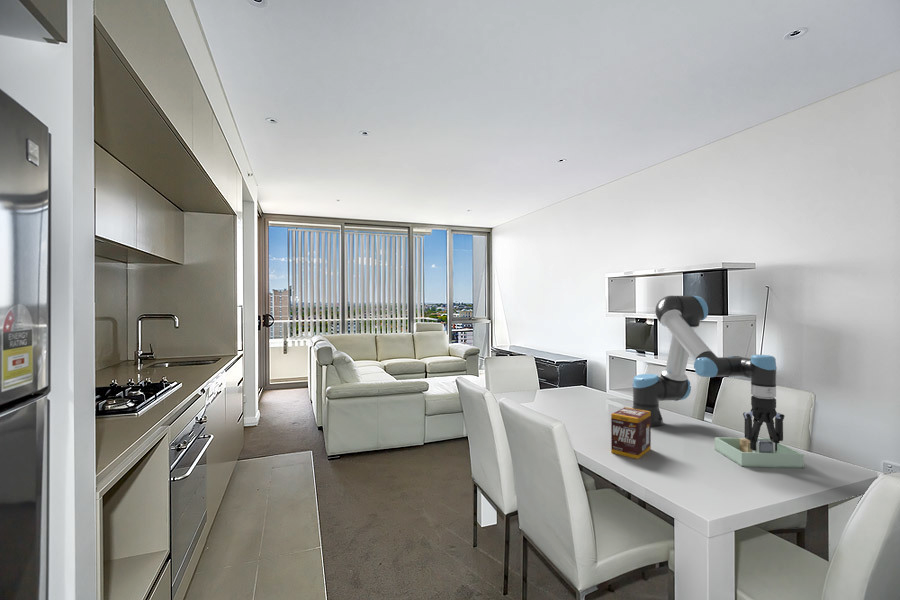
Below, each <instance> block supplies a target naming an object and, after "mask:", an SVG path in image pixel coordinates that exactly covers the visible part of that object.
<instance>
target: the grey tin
mask: <svg viewBox="0 0 900 600" xmlns="http://www.w3.org/2000/svg"><path fill="white" fill-rule="evenodd" d="M757 442H759V453H772V442H770V441H767V440H761V439H758V440H757Z"/></svg>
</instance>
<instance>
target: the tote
mask: <svg viewBox="0 0 900 600" xmlns="http://www.w3.org/2000/svg"><path fill="white" fill-rule="evenodd" d="M740 438H741V437H721V436H719V437H717V436H716V437H714V451H716V452H718V453H720V454H721V455H723V456H724V457H726V458H728V459H729V460H730V461H732V462H734V464H735V463H736V464H737V465H738V466H739V467H743V468H745V467H746V468H751V467H752V468H781V469H783V468H784V469H785V468H787V469H804V467H805V466H804V465H805V463H804V462H805V461H804V460H805V459H804V458H805V457H804V456H805V454H804V453H802V452H800V451H797V450H795V449H793V448H791V447H790V446H787V445H785V444H783V443H781V442H779V443H777V451H775V453H757V452H741V451H740ZM743 438H744V439H746V438H745V437H743ZM758 439H761V440H767V441H771V440H770V438H768V437H767V438H764V437H762V438H761V437H758ZM758 439H757V440H758Z"/></svg>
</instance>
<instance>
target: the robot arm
mask: <svg viewBox="0 0 900 600" xmlns="http://www.w3.org/2000/svg"><path fill="white" fill-rule="evenodd" d="M654 312H655V316H656V318H657V320H658V322H659V323H660V324H661V325H662V326H664V327H667V329H668V330H669V331H670V333H671V334H672V336H671V339H670V340H671V341H670V346H669V349H668V350H669V351H668V355H667V359H666V360H667V361H666V365H665V369H663V370H662V371H660V372H661V373H660V376H659V375H658V374H654V373H642V374H641V373H640V374H637V375H635V376H634V377H633V381H632V407H631V408H634V409H639V410H645V411H650V412H651V427H659V426H662V425H664V419H663V415H662V413H661V411H660V406H659V405H660V404H659V403H660V401H661V402H663V401H664V402H666V401H667V402H669V401H674V402H677V401H683V400H686V399H687V398H689V396H690V395H691V391H692V386H691V381H690V380H689V379H688V378H689V377H688V376H687V374H686V369H687V367H688V366H687V365H688V361H689V356H690V357H691V359H692V360H693V361H694V363H693V369H694V372H695V374H696V375H698V376H700V377H703V378H715V377H720V378H721V377H743V378H749V379H750V384H751V387H750V394H751V397H750V400H751V401H750V405H751V409H750V411H749V412H745V411H744V412H743V413H742V415H743V418H744V438H746V439H748V440H750V448H751V450H752V452H757V453H759V442H757V439H758V438H759V436H760V435H759V434H760V431H761V429H762V428H761V427H762V425H763V423H765V425H766V429H767V433H768V435H769V439H770V440H771V441H770V442H772V453H775V451H777V443H780V442H783V441H784V420H785V414H782V413H780V412H777V410H776V408H777V399H776V398H777V362H776V361H777V360H776V358H775V356H773V355H770V354H768V355H767V354H752V355H751V356H750V358H748V357H742V356H739V355H730V356H727V357H724V356H723V357H718V356H717V355H716V354H715V353H714V351H712V349H710V347H709V346H708V345H707V344H706V343H705V342H704V340H702V338H701V336H699V335H698V334H697V332H696V331H695V329H696V328H698V327H699V326H700V322H701V321H705V319H707V317H708V314H709V306H708V303H707V302H706V300H705V298H703V297H701V296H699V295H691V294H690V295H667V296H664V297H662V298H661V299H659V301H658V302H657V303H656V306H655V311H654Z"/></svg>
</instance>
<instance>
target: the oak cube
mask: <svg viewBox="0 0 900 600" xmlns="http://www.w3.org/2000/svg"><path fill="white" fill-rule="evenodd" d="M739 438H740V451H741V452H752V450H751V448H750V440H748V439H744V438H745V437H739Z"/></svg>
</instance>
